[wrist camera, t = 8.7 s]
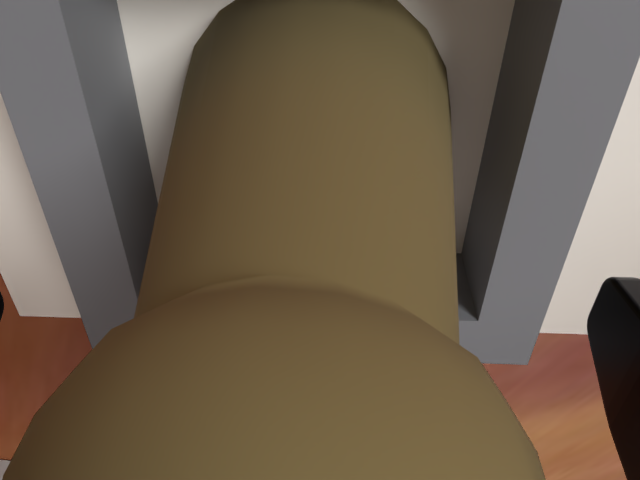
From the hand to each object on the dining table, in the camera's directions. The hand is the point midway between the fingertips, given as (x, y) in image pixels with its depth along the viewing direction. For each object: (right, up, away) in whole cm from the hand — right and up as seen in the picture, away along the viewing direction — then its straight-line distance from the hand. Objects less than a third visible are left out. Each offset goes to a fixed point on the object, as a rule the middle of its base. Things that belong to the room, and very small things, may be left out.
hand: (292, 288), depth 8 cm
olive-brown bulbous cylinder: (0, +4, +5) cm, 6 cm away
